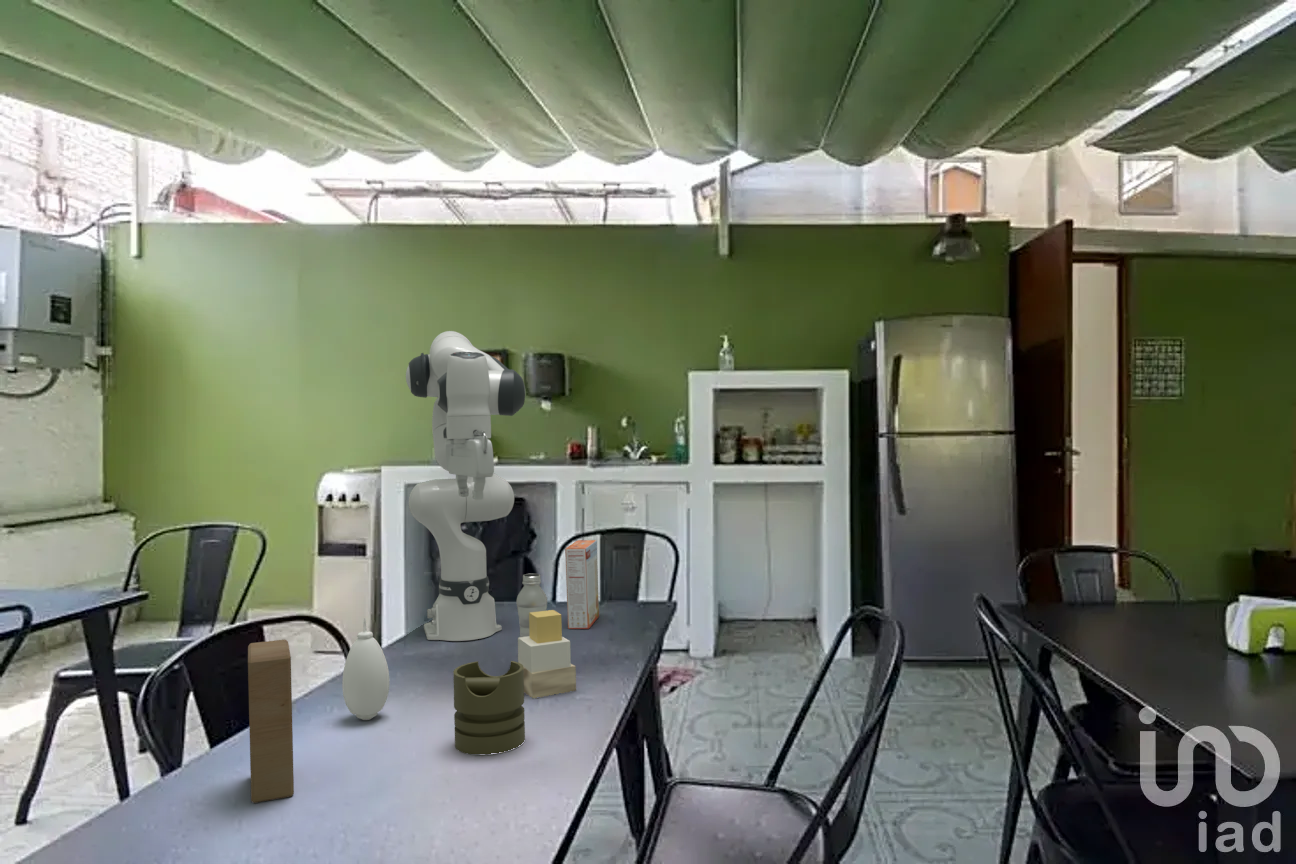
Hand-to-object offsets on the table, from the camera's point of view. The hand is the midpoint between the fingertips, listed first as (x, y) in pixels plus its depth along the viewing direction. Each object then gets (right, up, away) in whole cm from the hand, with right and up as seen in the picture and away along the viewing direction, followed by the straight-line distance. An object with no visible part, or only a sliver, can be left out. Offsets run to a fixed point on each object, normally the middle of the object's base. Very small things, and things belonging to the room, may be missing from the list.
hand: (470, 498), depth 178 cm
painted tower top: (+16, -32, -7) cm, 37 cm away
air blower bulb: (-14, -38, -23) cm, 46 cm away
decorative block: (-18, -38, -52) cm, 67 cm away
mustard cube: (+16, -27, -7) cm, 32 cm away
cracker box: (+19, -37, +49) cm, 64 cm away
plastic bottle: (+12, -37, +7) cm, 39 cm away
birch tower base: (+16, -37, -7) cm, 41 cm away
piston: (+10, -38, -35) cm, 53 cm away
